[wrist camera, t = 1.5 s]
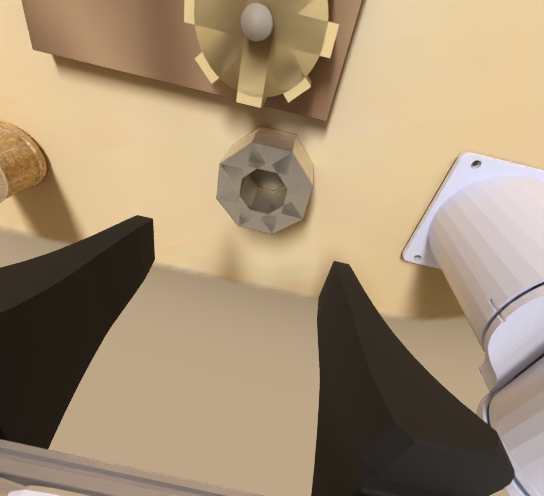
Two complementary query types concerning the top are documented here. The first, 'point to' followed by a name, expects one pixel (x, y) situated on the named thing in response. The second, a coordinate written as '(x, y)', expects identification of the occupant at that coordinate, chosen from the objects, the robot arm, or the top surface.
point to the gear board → (165, 44)
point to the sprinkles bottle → (18, 161)
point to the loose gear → (258, 201)
